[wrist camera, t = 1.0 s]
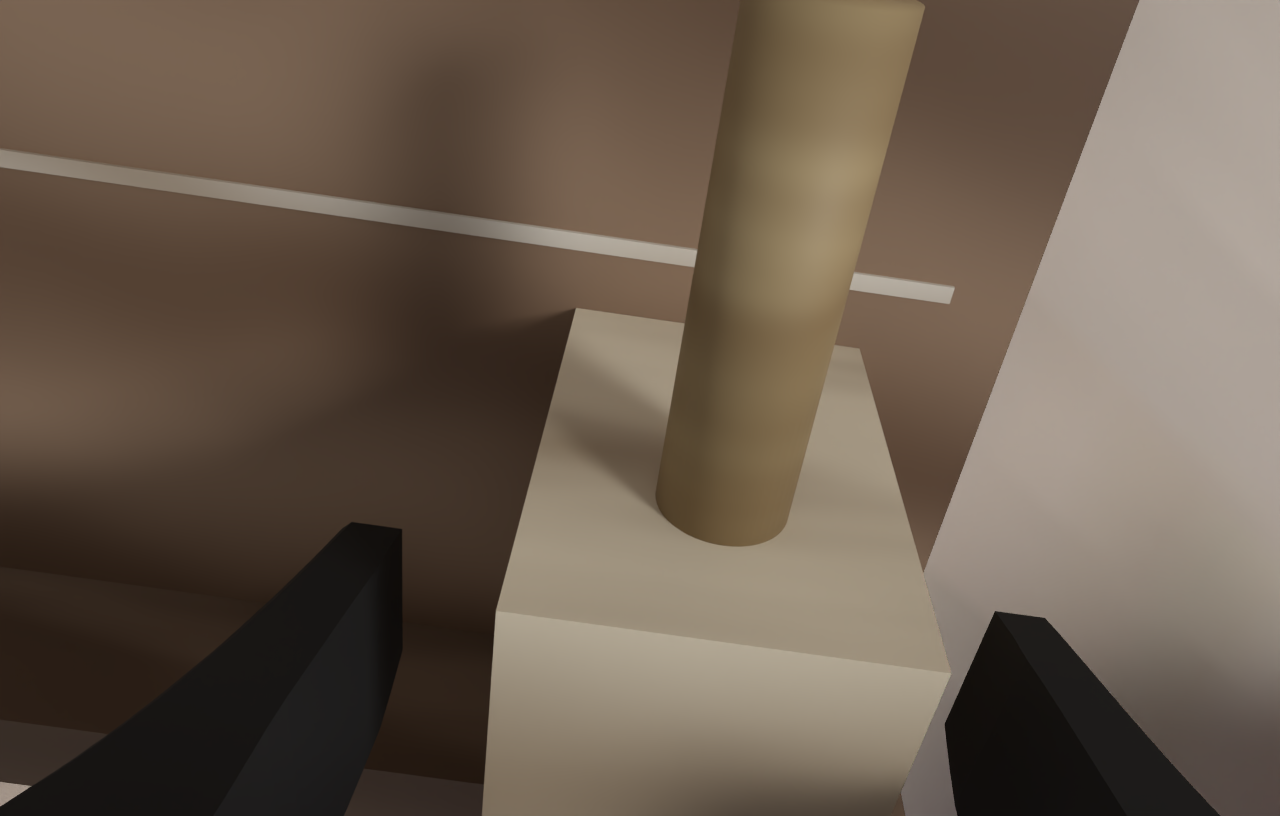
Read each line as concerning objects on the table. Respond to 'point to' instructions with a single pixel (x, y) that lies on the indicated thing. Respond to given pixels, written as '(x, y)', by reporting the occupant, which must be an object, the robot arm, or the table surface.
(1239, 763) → the table surface
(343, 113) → the board
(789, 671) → the beige block with rod
